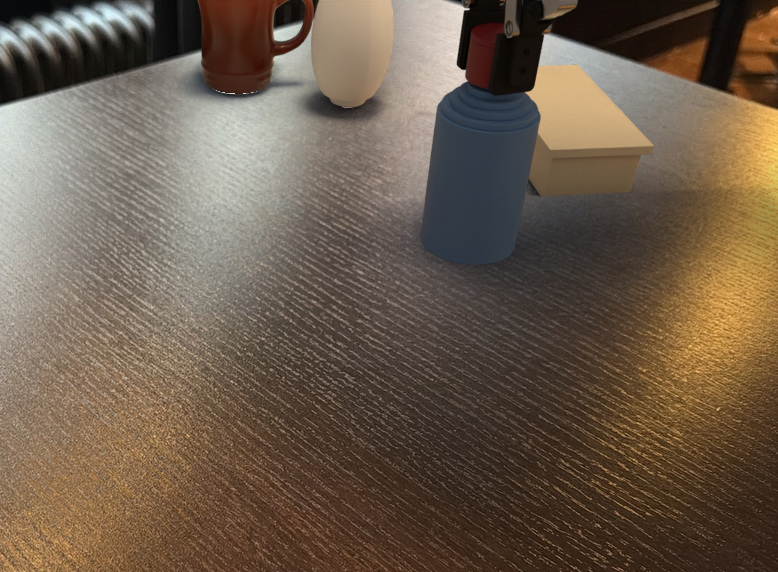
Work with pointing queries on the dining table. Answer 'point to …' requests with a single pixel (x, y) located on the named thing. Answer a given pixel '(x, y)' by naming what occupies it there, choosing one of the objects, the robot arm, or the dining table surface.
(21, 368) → the dining table surface
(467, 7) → the robot arm
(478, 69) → the cap
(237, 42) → the mug
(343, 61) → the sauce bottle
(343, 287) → the dining table surface
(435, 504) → the dining table surface
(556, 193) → the sill
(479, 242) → the bottle
